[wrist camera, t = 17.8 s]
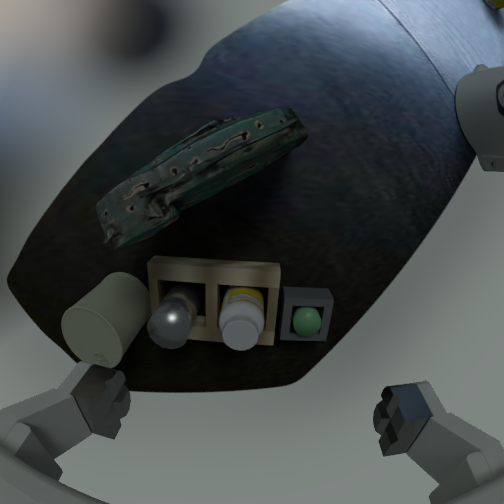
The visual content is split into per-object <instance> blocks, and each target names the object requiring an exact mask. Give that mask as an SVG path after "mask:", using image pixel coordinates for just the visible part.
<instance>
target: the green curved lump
mask: <svg viewBox="0 0 504 504" xmlns="http://www.w3.org/2000/svg"><path fill="white" fill-rule="evenodd" d="M307 138H308V131H307V129H306V128H305V127H304V126H303V125H302V123H301V122H300V120H299V118H298V116H297V115H296V113H295V112H294V111H293V110H292V109H291V108H288V107H277V108H272V109H268V110H264V111H260V112H256V113H253V114H249V115H246V116H242V117H231V118H229V119H227V120H220V119H213V120H211V121H210V122H208V123H206V124H205V125H203V126H202V127H200V128H199V129H197V130H196V131H194V132H193V133H191V134H189V135H188V136H186V137H184V138H183V139H181V140H180V141H178V142H177V143H176V144H174V145H173V146H171V147H170V148H169V149H167V150H166V151H164V152H163V153H162V154H160V155H159V156H158V157H156V158H155V159H154V160H153V161H151V162H150V163H148V164H147V165H146V166H144V167H143V168H141V169H140V170H138V171H137V172H135V173H134V174H133V175H131V176H130V177H129V178H128V179H126V180H125V181H124V182H122V183H120V184H119V185H117V186H116V187H114V188H113V189H112V190H111V191H109V192H108V193H107V194H106V195H105V196H104V197H103V198H101V200H100V201H99V202H98V203H97V205H96V211H97V214H98V217H99V220H100V223H101V225H102V228H103V230H104V233H105V236H104V243H103V244H104V245H106V244H107V243H111V245H112V246H113V248H114V249H115V250H119V249H122V248H124V247H126V246H128V245H131V244H133V243H136V242H139V241H142V240H144V239H147V238H149V237H151V236H153V235H155V234H156V233H157V232H159V231H160V230H161V229H163V228H165V227H167V226H168V225H169V224H171V223H172V222H174V221H176V220H177V219H178V218H179V215H180V211H182V210H184V209H186V208H188V207H191V206H193V205H195V204H197V203H199V202H201V201H203V200H205V199H207V198H209V197H211V196H213V195H215V194H216V193H218V192H220V191H221V190H223V189H225V188H227V187H229V186H231V185H233V184H235V183H237V182H239V181H241V180H243V179H245V178H247V177H249V176H251V175H253V174H255V173H257V172H259V171H261V170H262V169H264V168H265V167H267V166H268V165H270V164H271V163H273V162H274V161H276V160H277V159H279V158H281V157H282V156H284V155H285V154H287V153H288V152H290V151H292V150H293V149H295V148H297V147H299V146H300V145H301V144H302V143H303V142H304V141H305V140H306V139H307Z"/></svg>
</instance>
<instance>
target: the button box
mask: <svg viewBox="0 0 504 504" xmlns="http://www.w3.org/2000/svg"><path fill="white" fill-rule="evenodd" d="M333 302H334V298H333V296H332V295H331V293H330V291H329V289H326V288H302V287H283V291H282V301H281V310H280V320H279V334H280V340H300V341H326V338H327V334H328V329H329V324H330V319H331V313H332V308H333ZM293 306H313V307H318V309H317V310H318V313H319V316H320V318H321V327H320V329H319V330H318V331H317V332H316V333H314V334H312V335H309V336H303V335H300V334H298V333H297V332H296V331H295V329H294V325H293V321H291V315H292V307H293Z"/></svg>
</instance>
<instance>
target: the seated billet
mask: <svg viewBox="0 0 504 504" xmlns="http://www.w3.org/2000/svg"><path fill="white" fill-rule="evenodd" d="M202 301H203V291H202V289H201V287H200V286H199V285H198V284H197V283H193V282H181V281H176V282H175V283H174V284H173V286H172V287H171V289H170V290H169V291H168V293H167V294H166V296H165V297H164V299H163V300H162V302H161V303H160V304H159V306H158V307H157V309H156V310H155V312H154V313H153V315H152V316H151V318H150V319H149V321H148V324H147V330H148V334H149V336H150V337H151V339H152V340H153V341H154V342H155V343H156V344H158V345H159V346H161V347H163V348H167V349H176V348H179V347H181V346H183V345H184V344H185V342H186V341H187V338H188V336H189V333H190V331H191V328H192V326H193V323H194V321H195V318H196V316H197V313H198V311H199V309H200V306H201V304H202Z"/></svg>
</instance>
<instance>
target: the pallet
mask: <svg viewBox="0 0 504 504" xmlns="http://www.w3.org/2000/svg"><path fill="white" fill-rule="evenodd" d="M147 266H148V280H149V292H150V303H151V313H152V315H153V313H154V312H155V310H156V309H157V307H158V306H159V304H160V303H161V302H162V300H163V299H164V297H165V281H164V280H169V281H181V282H193V283H206V316H196V318H195V321H194V323H193V326H192V328H191V331H190V333H189V336H188V338H187V339H193V340H203V341H214V342H224V340H223V337H222V331H221V329H220V327H219V316H220V284H221V285H235V286H251V287H268V292H267V304H266V316H265V320H264V328H263V330H262V332H261V334H260V335H259V336H258V341H257V343H256V345H273V342H274V333H275V324H276V314H277V304H278V294H279V284H280V273H281V270H280V265H279V263H265V262H248V261H231V260H215V259H199V258H184V257H169V256H154V257H153V258H152V259H151V260H149V261H148V262H147Z"/></svg>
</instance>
